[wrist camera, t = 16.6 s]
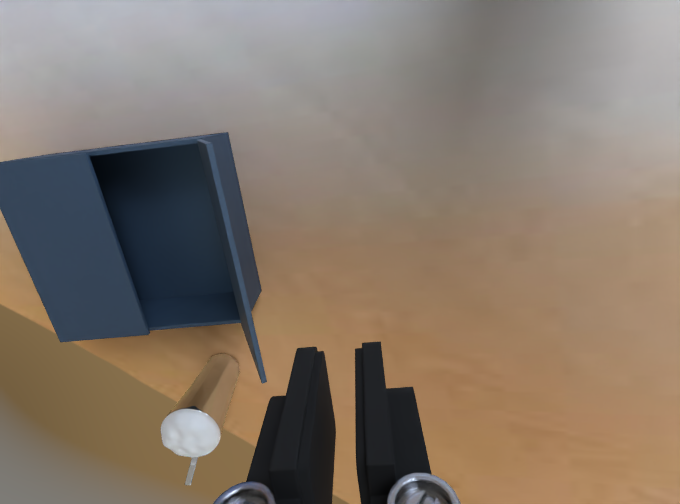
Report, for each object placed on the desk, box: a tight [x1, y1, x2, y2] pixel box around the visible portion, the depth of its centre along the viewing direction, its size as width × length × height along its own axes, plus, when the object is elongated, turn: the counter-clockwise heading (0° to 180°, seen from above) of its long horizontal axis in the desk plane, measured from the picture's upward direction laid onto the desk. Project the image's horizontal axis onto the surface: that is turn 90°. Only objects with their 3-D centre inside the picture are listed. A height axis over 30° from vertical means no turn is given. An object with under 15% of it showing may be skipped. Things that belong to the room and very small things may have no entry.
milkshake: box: [161, 353, 240, 485], centre depth 32 cm, size 4×5×10 cm
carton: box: [0, 132, 262, 342], centre depth 29 cm, size 14×15×6 cm
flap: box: [197, 139, 267, 383], centre depth 23 cm, size 14×7×1 cm
